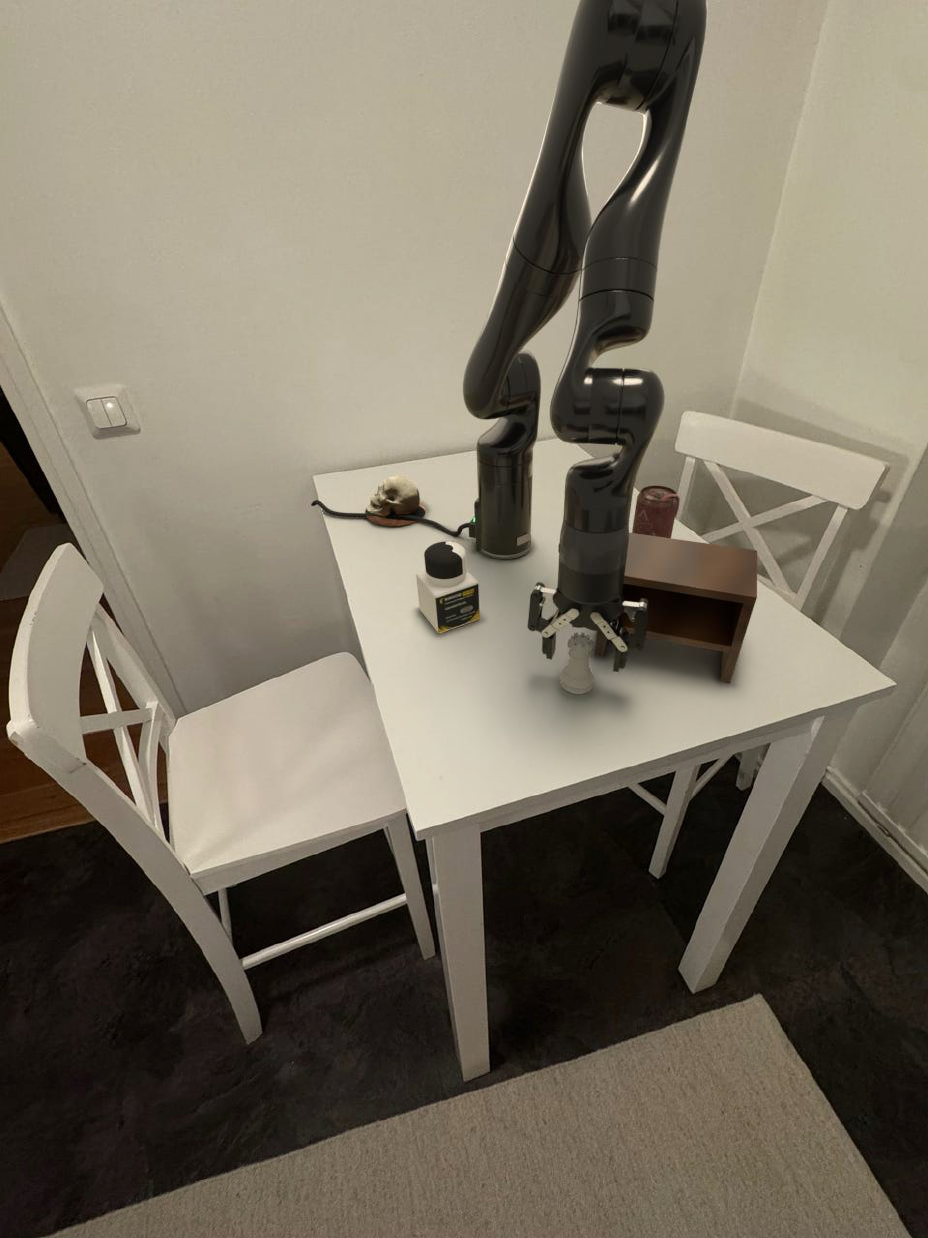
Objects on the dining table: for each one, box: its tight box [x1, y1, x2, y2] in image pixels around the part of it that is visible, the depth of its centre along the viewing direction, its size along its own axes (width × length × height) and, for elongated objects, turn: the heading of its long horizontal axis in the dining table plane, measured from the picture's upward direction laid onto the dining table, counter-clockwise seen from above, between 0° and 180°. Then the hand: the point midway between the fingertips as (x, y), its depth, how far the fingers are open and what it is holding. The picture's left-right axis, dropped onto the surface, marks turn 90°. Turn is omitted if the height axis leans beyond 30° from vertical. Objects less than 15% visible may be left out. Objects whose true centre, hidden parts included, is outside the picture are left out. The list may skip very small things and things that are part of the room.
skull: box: [364, 475, 426, 527], centre depth 120 cm, size 12×10×10 cm
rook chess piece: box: [559, 631, 595, 695], centre depth 78 cm, size 4×4×8 cm
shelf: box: [593, 532, 758, 684], centre depth 82 cm, size 18×11×14 cm, turn 69°
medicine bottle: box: [415, 541, 481, 634], centre depth 90 cm, size 7×7×12 cm
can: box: [631, 484, 681, 538], centre depth 97 cm, size 6×6×14 cm
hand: (582, 661), depth 78 cm, fingers open, 8 cm apart
